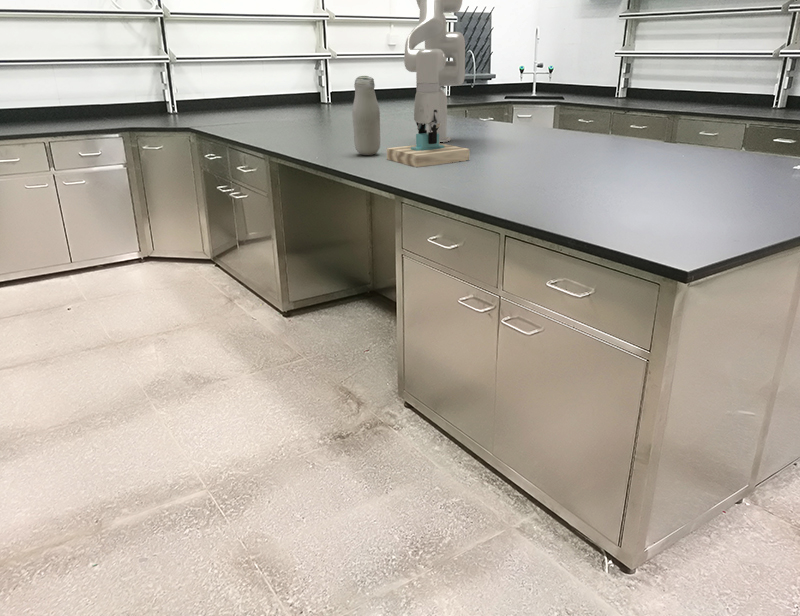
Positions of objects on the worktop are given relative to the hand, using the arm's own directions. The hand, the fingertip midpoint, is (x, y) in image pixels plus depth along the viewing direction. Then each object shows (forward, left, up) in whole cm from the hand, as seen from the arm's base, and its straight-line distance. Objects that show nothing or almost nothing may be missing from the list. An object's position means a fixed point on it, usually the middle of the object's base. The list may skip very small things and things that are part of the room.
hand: (427, 142), depth 221 cm
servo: (0, 0, -6) cm, 6 cm away
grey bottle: (-23, -12, -6) cm, 27 cm away
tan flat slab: (0, 0, -6) cm, 6 cm away
